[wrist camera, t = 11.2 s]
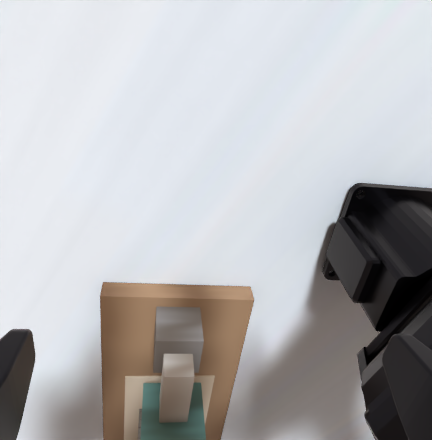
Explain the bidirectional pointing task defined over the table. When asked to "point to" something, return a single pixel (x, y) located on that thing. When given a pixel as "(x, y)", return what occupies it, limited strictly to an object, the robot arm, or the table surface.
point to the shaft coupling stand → (170, 358)
